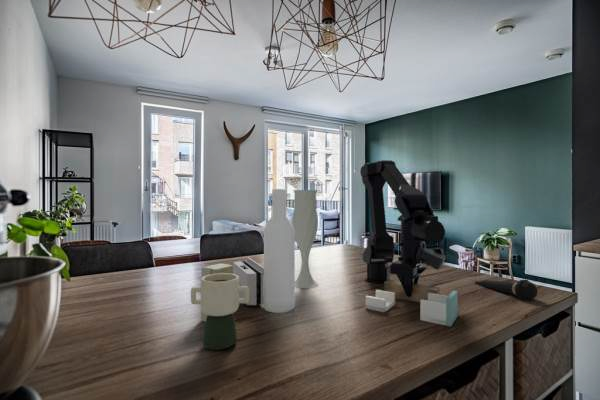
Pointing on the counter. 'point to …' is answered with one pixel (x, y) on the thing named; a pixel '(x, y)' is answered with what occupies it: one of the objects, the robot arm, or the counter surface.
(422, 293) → the rail
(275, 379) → the counter surface
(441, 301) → the rail brackets
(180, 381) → the counter surface
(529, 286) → the microphone
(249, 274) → the bracket
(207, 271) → the skincare box
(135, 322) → the counter surface
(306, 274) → the vase
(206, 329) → the character mug
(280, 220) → the bottle
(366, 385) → the counter surface
